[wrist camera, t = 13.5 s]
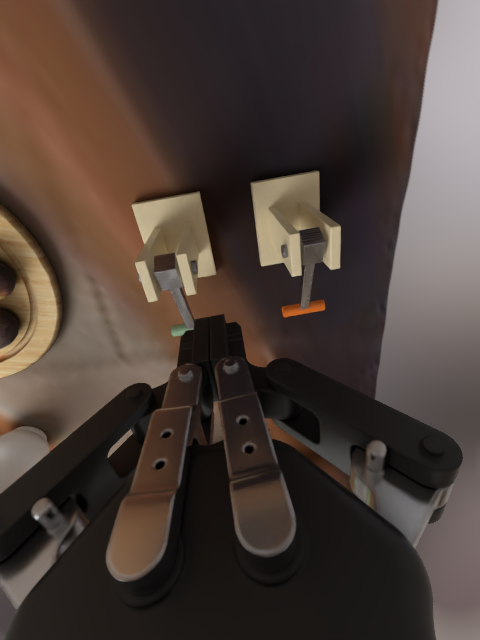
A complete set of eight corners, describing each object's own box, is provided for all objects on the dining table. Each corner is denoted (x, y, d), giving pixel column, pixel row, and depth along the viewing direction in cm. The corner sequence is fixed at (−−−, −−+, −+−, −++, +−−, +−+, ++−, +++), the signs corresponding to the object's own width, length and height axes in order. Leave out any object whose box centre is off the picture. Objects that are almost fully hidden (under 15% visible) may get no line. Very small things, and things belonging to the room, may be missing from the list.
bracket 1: (216, 271, 45) (219, 318, 33) (158, 281, 45) (141, 331, 33) (199, 191, 39) (196, 214, 28) (133, 202, 39) (103, 231, 28)
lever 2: (320, 300, 42) (325, 315, 41) (280, 307, 43) (284, 322, 41) (335, 223, 32) (342, 239, 30) (282, 233, 32) (287, 249, 30)
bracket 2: (318, 253, 45) (355, 293, 33) (260, 263, 45) (278, 307, 33) (316, 170, 39) (361, 185, 28) (250, 182, 39) (267, 201, 28)
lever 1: (212, 319, 43) (214, 334, 41) (173, 326, 43) (173, 341, 41) (190, 249, 32) (192, 266, 30) (137, 258, 32) (136, 276, 30)
